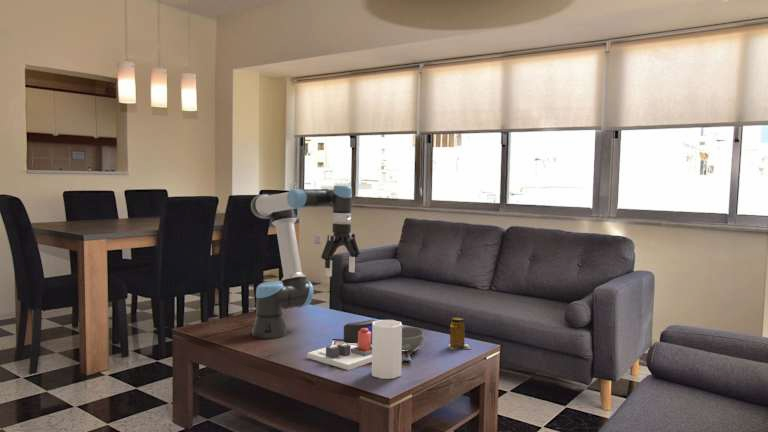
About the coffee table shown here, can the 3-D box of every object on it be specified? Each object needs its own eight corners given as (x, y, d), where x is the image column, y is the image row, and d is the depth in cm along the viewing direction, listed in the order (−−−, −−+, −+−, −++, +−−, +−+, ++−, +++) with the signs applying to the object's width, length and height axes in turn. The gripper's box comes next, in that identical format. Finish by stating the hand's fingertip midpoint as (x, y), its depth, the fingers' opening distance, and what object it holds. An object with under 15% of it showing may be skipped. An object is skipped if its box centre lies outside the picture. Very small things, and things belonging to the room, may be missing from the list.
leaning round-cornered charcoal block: (348, 348, 234) (348, 326, 234) (342, 345, 238) (342, 323, 238) (380, 342, 244) (380, 320, 243) (374, 340, 248) (374, 318, 247)
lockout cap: (355, 352, 222) (355, 328, 222) (363, 349, 226) (364, 326, 226) (364, 354, 219) (364, 331, 218) (373, 351, 223) (373, 328, 222)
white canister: (366, 377, 200) (366, 325, 199) (377, 367, 210) (378, 318, 209) (395, 381, 196) (396, 328, 195) (406, 371, 206) (406, 321, 205)
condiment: (448, 344, 242) (448, 316, 242) (468, 344, 242) (468, 317, 242) (450, 349, 235) (450, 320, 234) (470, 349, 235) (471, 321, 234)
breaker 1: (325, 356, 216) (325, 346, 216) (331, 354, 219) (331, 344, 219) (333, 358, 214) (333, 348, 214) (338, 356, 216) (338, 346, 216)
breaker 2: (337, 354, 219) (337, 344, 219) (342, 352, 222) (342, 342, 222) (344, 356, 217) (345, 346, 217) (350, 354, 219) (350, 344, 219)
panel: (307, 357, 221) (307, 349, 221) (343, 346, 236) (343, 338, 236) (348, 370, 207) (348, 360, 207) (383, 357, 222) (383, 349, 222)
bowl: (373, 353, 228) (374, 334, 227) (388, 342, 244) (388, 324, 244) (416, 358, 222) (416, 338, 221) (428, 347, 238) (429, 328, 238)
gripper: (326, 225, 221) (325, 279, 223) (368, 222, 240) (367, 271, 242) (313, 223, 226) (312, 276, 228) (355, 220, 245) (354, 269, 247)
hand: (340, 274), depth 235 cm, fingers open, 13 cm apart
